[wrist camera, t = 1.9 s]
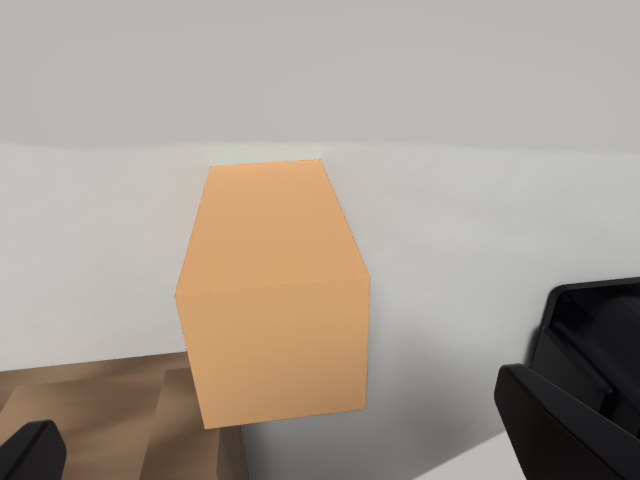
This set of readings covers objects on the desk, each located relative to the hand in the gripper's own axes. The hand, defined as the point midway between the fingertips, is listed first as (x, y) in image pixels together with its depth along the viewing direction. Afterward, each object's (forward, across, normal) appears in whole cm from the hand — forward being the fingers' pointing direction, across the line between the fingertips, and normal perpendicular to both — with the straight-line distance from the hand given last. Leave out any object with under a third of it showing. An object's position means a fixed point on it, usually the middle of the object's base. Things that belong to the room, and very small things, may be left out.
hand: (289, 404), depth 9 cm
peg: (+9, 0, 0) cm, 9 cm away
